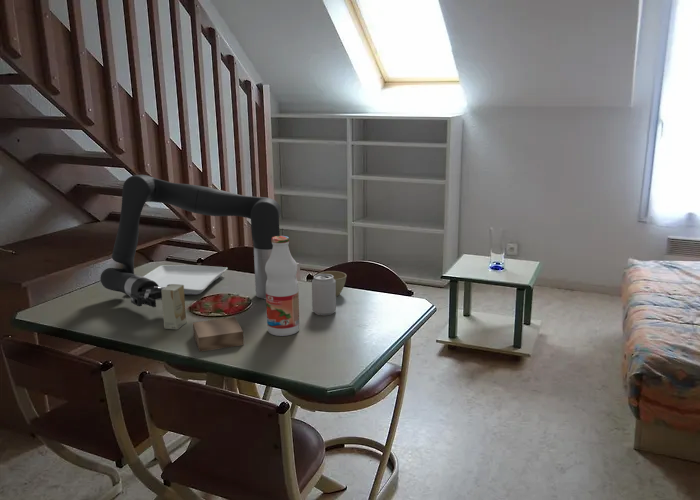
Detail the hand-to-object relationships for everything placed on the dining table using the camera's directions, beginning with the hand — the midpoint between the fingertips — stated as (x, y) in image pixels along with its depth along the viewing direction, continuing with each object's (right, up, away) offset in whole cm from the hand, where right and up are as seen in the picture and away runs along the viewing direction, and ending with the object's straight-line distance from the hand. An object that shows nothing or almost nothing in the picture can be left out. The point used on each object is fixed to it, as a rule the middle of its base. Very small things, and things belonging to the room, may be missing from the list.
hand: (167, 300), depth 184 cm
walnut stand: (+18, -10, -12) cm, 23 cm away
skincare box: (+3, -8, -1) cm, 8 cm away
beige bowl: (+49, 0, +26) cm, 55 cm away
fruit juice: (+35, -9, -5) cm, 37 cm away
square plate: (-7, +2, +39) cm, 39 cm away
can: (+47, -5, +10) cm, 48 cm away
